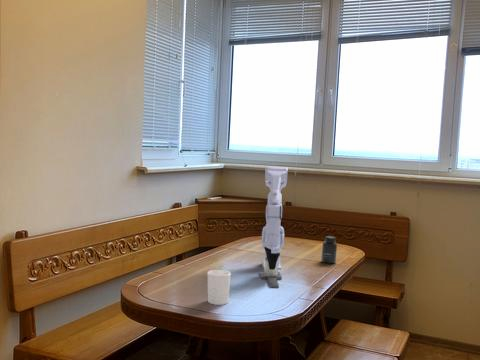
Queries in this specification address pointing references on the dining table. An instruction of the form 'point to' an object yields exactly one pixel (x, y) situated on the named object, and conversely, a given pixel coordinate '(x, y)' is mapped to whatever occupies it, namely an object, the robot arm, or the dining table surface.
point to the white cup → (218, 286)
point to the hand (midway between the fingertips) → (271, 266)
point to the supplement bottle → (329, 250)
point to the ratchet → (271, 279)
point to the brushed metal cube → (268, 271)
